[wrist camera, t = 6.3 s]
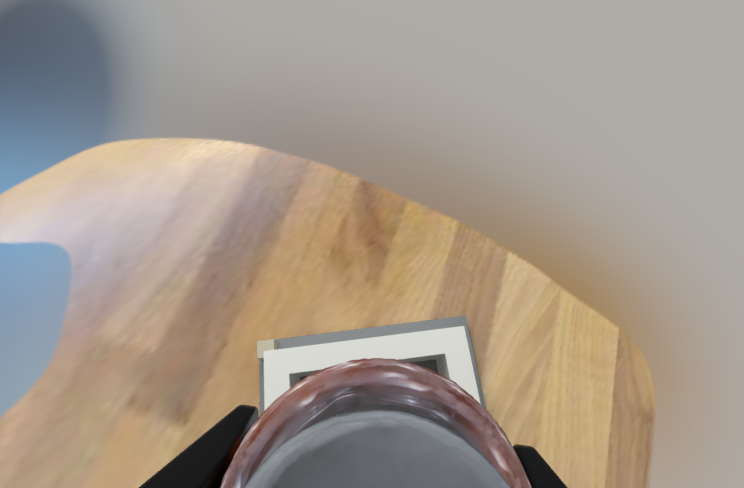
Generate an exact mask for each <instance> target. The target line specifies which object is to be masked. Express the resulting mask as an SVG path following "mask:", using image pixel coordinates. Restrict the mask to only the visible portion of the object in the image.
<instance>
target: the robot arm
mask: <svg viewBox="0 0 744 488" xmlns="http://www.w3.org/2000/svg"><path fill="white" fill-rule="evenodd" d="M257 419H258V409H257V407H255V406H249V405H239V406H238V407H236V408H235V409H234V410H233V411H232V412H230V413H229V414H228V415H227V416H225V417H224V418H223V419H222V420H221V421H219V422H218V423H217V424H216V425H214V426H213V427H212V428H211V429H210V430H208V431H207V432H206V433H205V434H203V435H202V436H201V437H200V438H199V439H197V440H196V441H195V442H194V443H193V444H191V445H190V446H189V447H188V448H186V449H185V450H184V451H183V452H182V453H180V454H179V455H178V456H177V457H175V458H174V459H173V460H172V461H171V462H169V463H168V464H167V465H166V466H164V467H163V468H162V469H161V470H160V471H158V472H157V473H156V474H155V475H154V476H152V477H151V478H150V479H149V480H147V481H146V482H145V483H144V484H143V485H141V486H140V487H139V488H220V487H221V484H222V480H223V478H224V475H225V473H226V471H227V469H228V467H229V465H230V464H231V462H232V460H233V457H234V454H235V453H236V451H237V449H238V447H239V446H240V444H241V442H242V441H243V439H244V437H245V436H246V434H247V433H248V431H249V430H250V428H251V427H252V426H253V424H254V423H255V422H256V420H257ZM513 448H514V451H515V453H516V454H517V456H518V458H519V459H520V461H521V463H522V465H523V468H524V470H525V473H526V475H527V477H528V480H529V482H530V485H531V488H567V487H566V485H565V484H564V483H563V482H562V481H561V479H560V478H559V477H558V476H557V475H556V473H555V472H554V471H553V470H552V469H551V467H550V466H549V465H548V464H547V463H546V462H545V460H544V459H543V458H542V457H541V456H540V454H539V453H538V452H537V451H536V450H535V449H534V448H533V447H531V446H525V445H518V444H516V445H514V446H513Z"/></svg>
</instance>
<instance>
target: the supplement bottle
mask: <svg viewBox="0 0 744 488" xmlns="http://www.w3.org/2000/svg"><path fill="white" fill-rule="evenodd" d="M220 488H531V485H530V482H529V480H528V477H527V475H526V473H525V470H524V468H523V465H522V463H521V461H520V459H519V458H518V456H517V454H516V453H515V451H514V448H513V446H512V445H511V443H510V441H509V440H508V438H507V436H506V434H505V433H504V431H503V430H502V429H501V427H500V426H499V425H498V423H497V422H496V421H495V420H494V419H493V417H492V416H491V414H490V413H489V412H488V411H487V410H486V409H484V408H483V407H482V406H481V404H480V403H479V402H478V401H477V400H476V399H474V397H473V396H472V395H470V394H469V393H467V392H466V391H465V390H464V389H462V388H461V387H460V386H459V385H458V384H457V383H456V382H454V381H452V380H450V379H448V378H446V377H444V376H442V375H440V374H438V373H436V372H434V371H432V370H430V369H428V368H425V367H421V366H419V365H416V364H414V363H408V362H404V361H399V360H396V359H383V358H371V359H366V358H363V359H359V360H350V361H347V362H345V363H340V364H337V365H334V366H331V367H327V368H324V369H322V370H320V371H317V372H315V373H313V374H311V375H309V376H307V377H306V378H304V379H303V380H301V381H300V382H298V383H296V384H295V385H294V386H292V387H291V388H290V389H289V390H287V391H286V392H285V393H283V394H282V395H281V396H280V397H279V398H277V399H276V400H275V401H274V402H273V403H272V404H271V405H270V406H269V407H268V408H267V409H266V410H265V411H264V412H263V413H262V414H261V416H260V417H259V418H258V419H257V420H256V422H255V423H254V424H253V426H252V427H251V428H250V430H249V431H248V433H247V434H246V436H245V437H244V439H243V441H242V442H241V444H240V446H239V447H238V449H237V451H236V453H235V454H234V457H233V460H232V462H231V464H230V465H229V467H228V469H227V471H226V473H225V475H224V478H223V480H222V484H221V487H220Z"/></svg>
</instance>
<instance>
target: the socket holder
mask: <svg viewBox="0 0 744 488" xmlns="http://www.w3.org/2000/svg"><path fill="white" fill-rule="evenodd" d="M363 358H366V359H371V358H383V359H396V360H399V361H404V362H408V363H414V364H416V365H419V366H421V367H425V368H428V369H430V370H432V371H434V372H436V373H438V374H440V375H442V376H444V377H446V378H448V379H450V380H452V381H454V382H456V383H457V384H458V385H459V386H460V387H461V388H462V389H464V390H465V391H466V392H467V393H469V394H470V395H472V396H473V397H474V399H476V400H477V401H478V402H479V403H480V404H481V406H482V407H483V408H484V409H486V408H485V403H484V398H483V394H482V389H481V384H480V380H479V375H478V371H477V366H476V361H475V357H474V352H473V348H472V343H471V338H470V334H469V329H468V324H467V320H466V316H459V317H451V318H443V319H435V320H427V321H419V322H411V323H403V324H395V325H387V326H379V327H371V328H363V329H355V330H347V331H339V332H331V333H323V334H315V335H307V336H299V337H291V338H283V339H275V340H274V339H272V340H264V341H257V359H260V416H261V414H262V413H263V412H264V411H265V410H266V409H267V408H268V407H269V406H270V405H271V404H272V403H273V402H274V401H275V400H276V399H277V398H279V397H280V396H281V395H282V394H283V393H285V392H286V391H287V390H289V389H290V388H291V387H292V386H294V385H295V384H296V383H298V382H300V381H301V380H303V379H304V378H306V377H307V376H309V375H311V374H313V373H315V372H317V371H320V370H322V369H324V368H327V367H331V366H334V365H337V364H340V363H345V362H347V361H350V360H359V359H363Z"/></svg>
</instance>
